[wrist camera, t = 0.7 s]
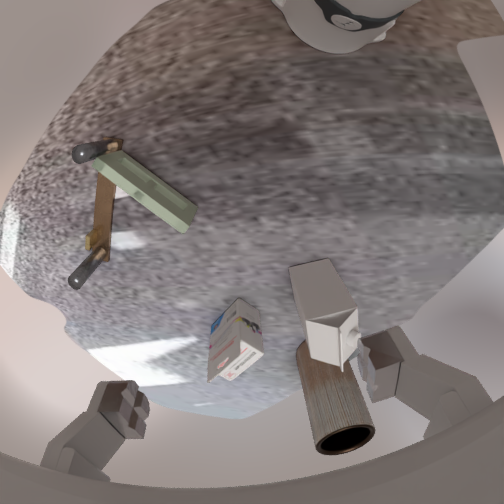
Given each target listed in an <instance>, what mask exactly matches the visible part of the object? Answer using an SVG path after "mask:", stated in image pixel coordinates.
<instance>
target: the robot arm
mask: <svg viewBox="0 0 504 504" xmlns="http://www.w3.org/2000/svg"><path fill="white" fill-rule="evenodd" d="M271 1H272V2H273V3H274V4H275V5H276V6H277V7H278V8H279V9H280V10H281V11H282V12H283V14H284V16H285V18H286V20H287V23H288V25H289V26H290V28H291V29H292V31H293V32H294V33H295V34H296V35H297V36H298V37H299V38H300V39H301V40H302V41H304V42H305V43H307V44H308V45H310V46H312V47H314V48H316V49H318V50H321V51H324V52H328V53H335V54H344V53H350V52H353V51H356V50H358V49H360V48H361V47H363V46H364V45H366V44H368V43H374V42H380V41H382V40H384V39H385V37H386V31H387V30H388V29H389V28H391V27H392V26H393V25H394V24H395V19H397V18H398V16H400V15H401V14H402V13H403V11H404V10H405V9H406V8H408V7H410V6H412V5H414V4H416V3H418V2H420V1H422V0H271ZM357 347H358V349H359V351H360V353H359V354H358V355H357V358H358V367H359V371H360V374H361V377H362V379H363V380H364V381H366V382H367V391H368V394H369V396H370V398H371V401H372V403H375V402H378V401H381V400H384V399H388V398H390V397H394V396H395V397H396V398H397V399H399V400H400V401H401V402H403V403H405V404H406V405H408V406H409V407H411V408H412V409H413V410H415V411H416V412H418V413H419V414H421V415H423V416H424V417H425V418H427V419H429V420H430V422H429V425H428V427H427V429H426V431H425V433H424V436H423V437H424V440H422V441H420V442H417V443H415V444H413V445H410V446H408V447H405V448H403V449H400V450H398V451H395V452H393V453H390V454H387V455H384V456H381V457H378V458H375V459H372V460H369V461H367V462H363V463H360V464H356V465H353V466H350V467H346V468H342V469H339V470H334V471H330V472H327V473H322V474H318V475H314V476H309V477H304V478H298V479H293V480H287V481H281V482H274V483H266V484H259V485H249V486H238V487H223V488H163V487H149V486H138V485H128V484H120V483H113V482H110V478H109V476H107V475H106V474H105V473H103V472H102V471H101V470H102V469H103V468H104V467H105V465H106V464H107V463H108V462H109V460H110V459H111V458H112V456H113V455H114V454H115V453H116V451H117V450H118V449H119V448H120V446H121V445H122V444H123V442H124V441H125V439H144V434H145V430H146V424H145V422H144V420H145V419H146V418H147V417H148V416H149V411H150V407H149V402H148V399H147V397H146V396H145V394H144V393H142V392H140V391H138V388H139V386H138V385H137V384H136V382H135V381H132V380H127V381H101V382H99V383H98V384H97V387H96V390H95V392H94V394H93V396H92V399H91V401H90V404H89V407H88V409H87V411H86V412H83V413H82V414H81V415H79V416H78V417H77V418H76V419H75V420H74V421H73V422H72V423H70V425H68V426H67V427H66V428H65V429H64V430H63V431H61V432H60V433H59V434H58V435H57V436H56V437H55V438H53V439H52V440H51V441H50V442H49V443H48V445H47V448H46V451H45V453H44V456H43V459H42V461H41V464H40V466H38V465H35V464H31V463H29V462H26V461H23V460H20V459H17V458H14V457H12V456H9V455H6V454H4V453H1V452H0V504H504V396H503V397H501V398H500V399H498V400H496V401H495V402H493V401H492V400H491V398H490V396H489V395H488V394H487V392H486V390H485V389H484V388H483V386H482V385H481V384H480V382H479V380H478V379H477V378H476V377H475V376H473V375H470V374H468V373H466V372H463V371H461V370H459V369H456V368H454V367H451V366H449V365H447V364H444V363H442V362H440V361H438V360H435V359H433V358H431V357H428V356H426V355H423V354H422V355H419V354H418V353H417V351H416V350H415V349H414V347H413V345H412V344H411V342H410V341H409V339H408V338H407V336H406V335H405V333H404V332H403V330H402V329H401V328H400V327H399V326H395V327H392V328H389V329H386V330H385V331H384V330H383V331H380V332H377V333H374V334H371V335H368V336H365V337H361V338H358V341H357Z"/></svg>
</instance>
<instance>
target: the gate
mask: <svg viewBox="0 0 504 504" xmlns="http://www.w3.org/2000/svg"><path fill="white" fill-rule="evenodd" d="M92 167H93V168H95V169H96V170H97V171H98V172H100V173H101V174H102V175H104V176H105V177H106V178H108V179H109V180H110V181H112V182H113V183H114V184H116V185H117V186H118V187H120V188H121V189H122V190H123V191H125V192H126V193H127V194H129V195H130V196H131V197H133V198H134V199H136V200H137V201H138V202H140V203H141V204H142V205H144V206H145V207H146V208H148V209H149V210H150V211H152V212H153V213H154V214H156V215H157V216H158V217H160V218H161V219H163V220H164V221H165V222H167V223H168V224H169V225H171V226H172V227H173V228H175V229H176V230H178V231H179V232H180V233H182V234H184V233H185V232H186V230H187V229H188V228H189V226H190V224H191V222H192V220H193V218H194V216H195V213H196V211H197V209H198V207H197V206H196V205H194V204H193V203H192V202H190V201H189V200H188V199H186V198H185V197H184V196H182V195H181V194H180V193H178V192H177V191H175V190H174V189H173V188H171V187H170V186H169V185H167V184H166V183H165V182H163V181H162V180H161V179H159V178H158V177H157V176H155V175H154V174H153V173H151V172H150V171H149V170H147V169H146V168H145V167H143V166H142V165H141V164H139V163H138V162H136V161H135V160H134V159H132V158H131V157H130V156H128V155H127V154H126V153H124V152H123V151H122V150H119V151H116V152H112V153H109V154H105V155H102V156H98V157H96V159H95V161H94V163H93V164H92Z"/></svg>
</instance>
